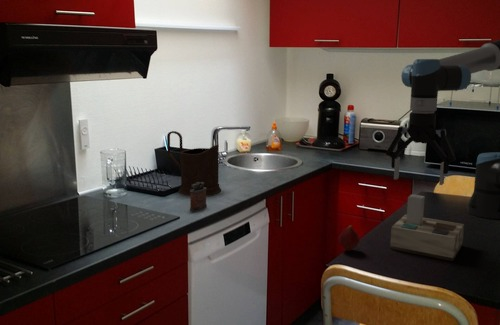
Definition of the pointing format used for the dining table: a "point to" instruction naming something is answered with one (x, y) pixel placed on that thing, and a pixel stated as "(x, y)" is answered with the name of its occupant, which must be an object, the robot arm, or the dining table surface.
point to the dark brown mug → (197, 168)
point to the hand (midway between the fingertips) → (418, 181)
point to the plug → (415, 209)
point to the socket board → (428, 238)
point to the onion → (349, 238)
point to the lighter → (198, 197)
